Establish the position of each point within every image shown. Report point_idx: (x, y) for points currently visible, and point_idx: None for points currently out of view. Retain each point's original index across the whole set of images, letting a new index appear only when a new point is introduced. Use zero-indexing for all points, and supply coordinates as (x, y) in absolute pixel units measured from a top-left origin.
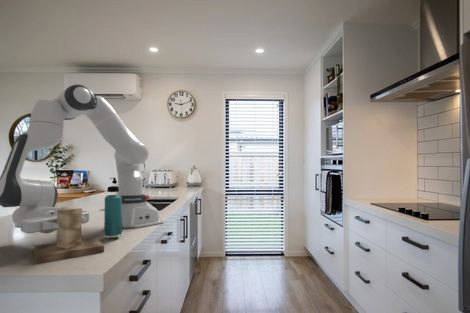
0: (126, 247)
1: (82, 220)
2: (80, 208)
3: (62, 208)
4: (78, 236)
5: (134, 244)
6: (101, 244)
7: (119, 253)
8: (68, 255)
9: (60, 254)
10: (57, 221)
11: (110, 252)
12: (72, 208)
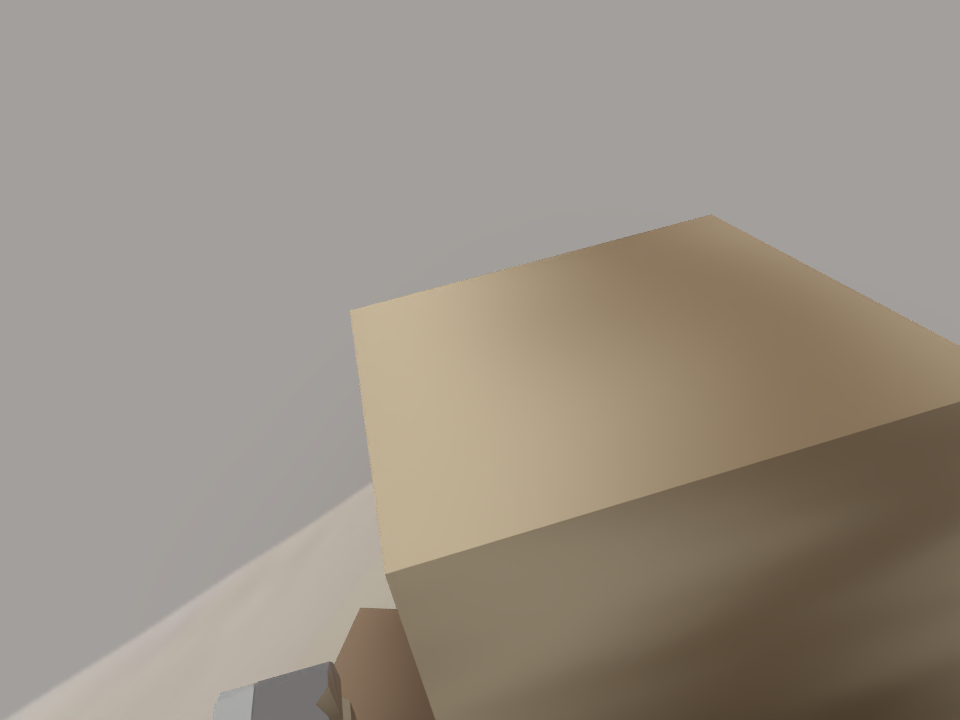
0: (169, 657)
1: (339, 689)
2: (385, 307)
3: (826, 435)
4: None
5: (43, 705)
6: (349, 659)
7: (336, 540)
8: None
9: None
10: (956, 703)
11: (357, 603)
12: (535, 324)
